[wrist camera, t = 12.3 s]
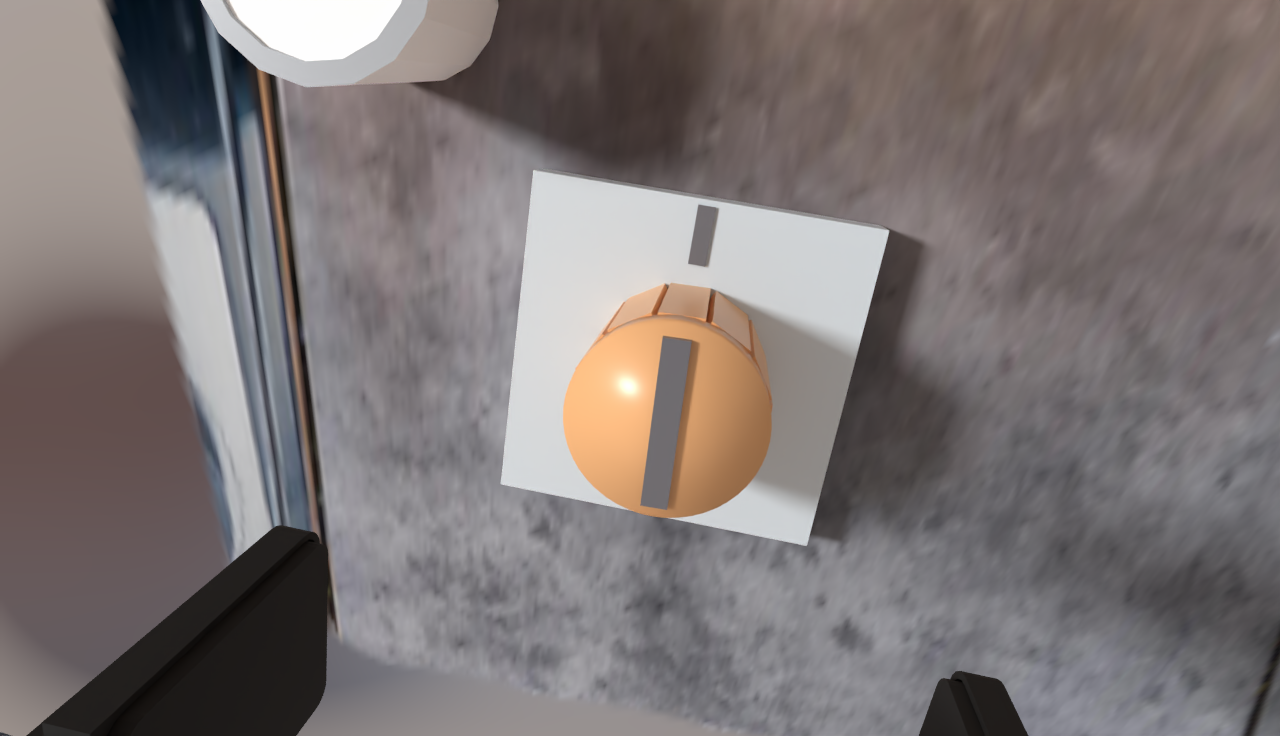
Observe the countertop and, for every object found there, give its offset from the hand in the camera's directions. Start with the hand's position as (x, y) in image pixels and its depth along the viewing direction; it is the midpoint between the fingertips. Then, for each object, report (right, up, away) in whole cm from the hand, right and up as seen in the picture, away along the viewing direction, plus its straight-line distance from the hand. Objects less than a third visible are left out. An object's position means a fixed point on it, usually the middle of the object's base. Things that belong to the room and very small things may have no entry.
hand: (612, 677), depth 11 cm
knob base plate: (+2, +5, +16) cm, 17 cm away
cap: (+2, +5, +15) cm, 16 cm away
